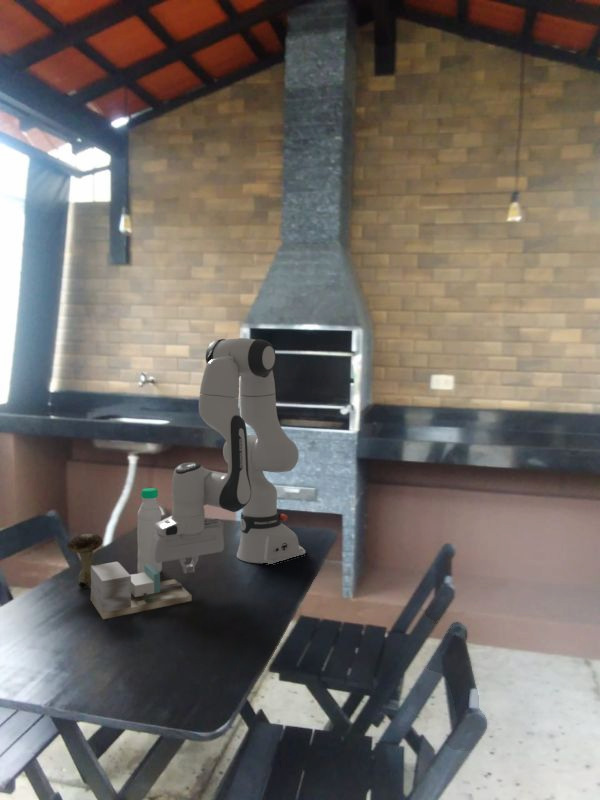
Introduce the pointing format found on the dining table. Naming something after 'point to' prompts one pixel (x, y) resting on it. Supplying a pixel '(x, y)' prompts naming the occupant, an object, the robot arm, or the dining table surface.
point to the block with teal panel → (145, 582)
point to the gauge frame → (129, 592)
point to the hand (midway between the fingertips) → (188, 572)
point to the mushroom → (85, 555)
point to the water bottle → (147, 528)
